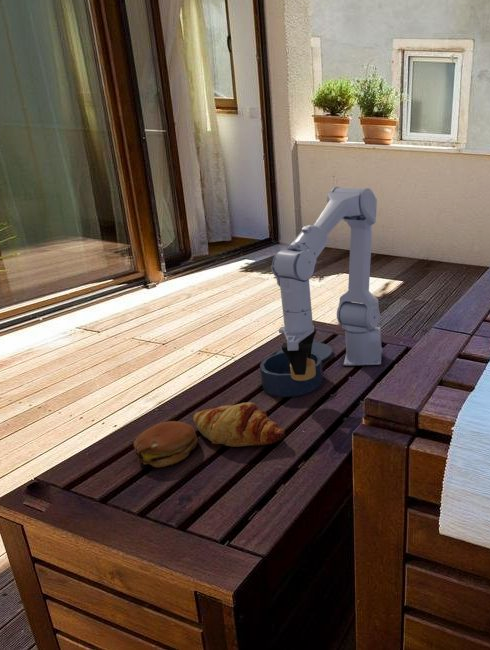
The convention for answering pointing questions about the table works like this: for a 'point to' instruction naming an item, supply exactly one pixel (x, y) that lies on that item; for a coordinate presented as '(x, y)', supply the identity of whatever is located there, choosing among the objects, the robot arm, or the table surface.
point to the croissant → (237, 425)
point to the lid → (319, 350)
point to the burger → (165, 443)
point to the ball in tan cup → (308, 374)
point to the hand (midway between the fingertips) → (302, 367)
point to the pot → (287, 376)
